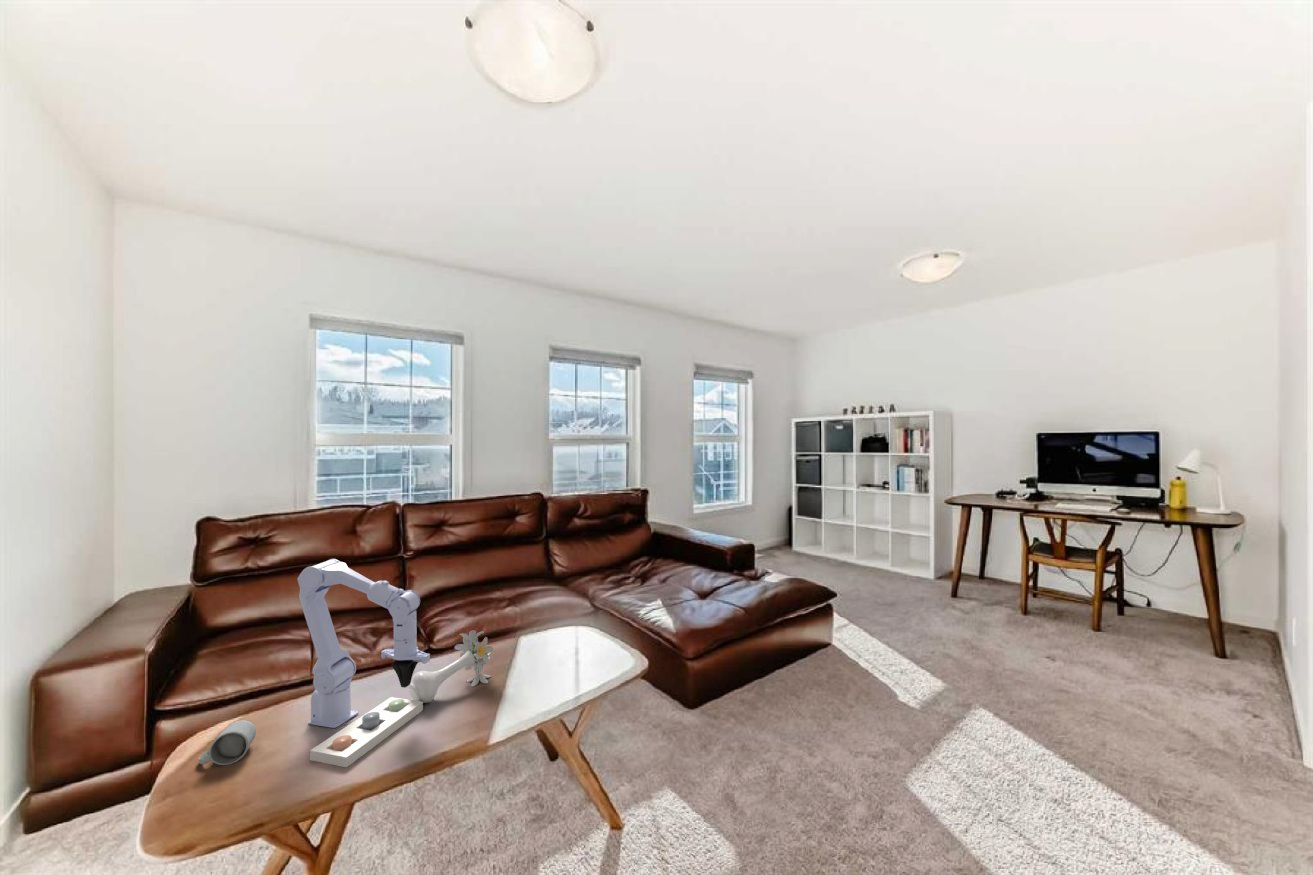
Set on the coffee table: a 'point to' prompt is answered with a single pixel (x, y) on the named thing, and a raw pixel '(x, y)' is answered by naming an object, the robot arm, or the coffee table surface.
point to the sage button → (396, 705)
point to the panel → (365, 734)
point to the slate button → (370, 721)
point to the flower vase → (453, 668)
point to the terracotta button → (342, 743)
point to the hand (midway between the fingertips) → (405, 685)
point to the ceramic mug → (230, 744)
